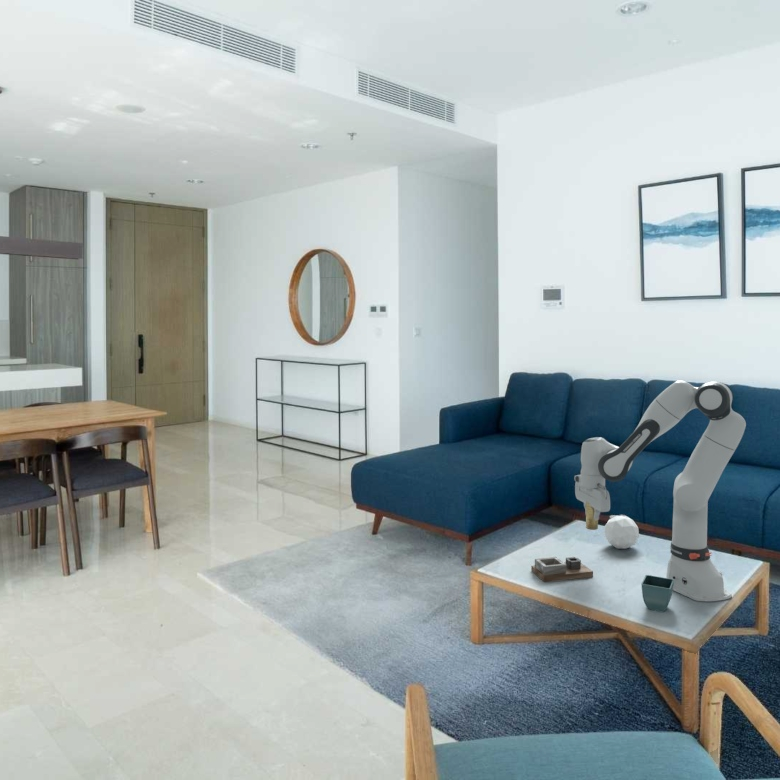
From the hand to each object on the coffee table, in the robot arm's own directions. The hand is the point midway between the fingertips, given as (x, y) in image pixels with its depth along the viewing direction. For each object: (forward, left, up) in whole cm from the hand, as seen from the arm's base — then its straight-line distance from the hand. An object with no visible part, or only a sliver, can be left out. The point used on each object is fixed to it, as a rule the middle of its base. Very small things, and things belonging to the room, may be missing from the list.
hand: (592, 517), depth 256 cm
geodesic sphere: (+17, -23, -20) cm, 34 cm away
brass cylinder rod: (0, 0, -4) cm, 4 cm away
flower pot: (-38, -3, -20) cm, 43 cm away
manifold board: (-3, +13, -19) cm, 24 cm away
